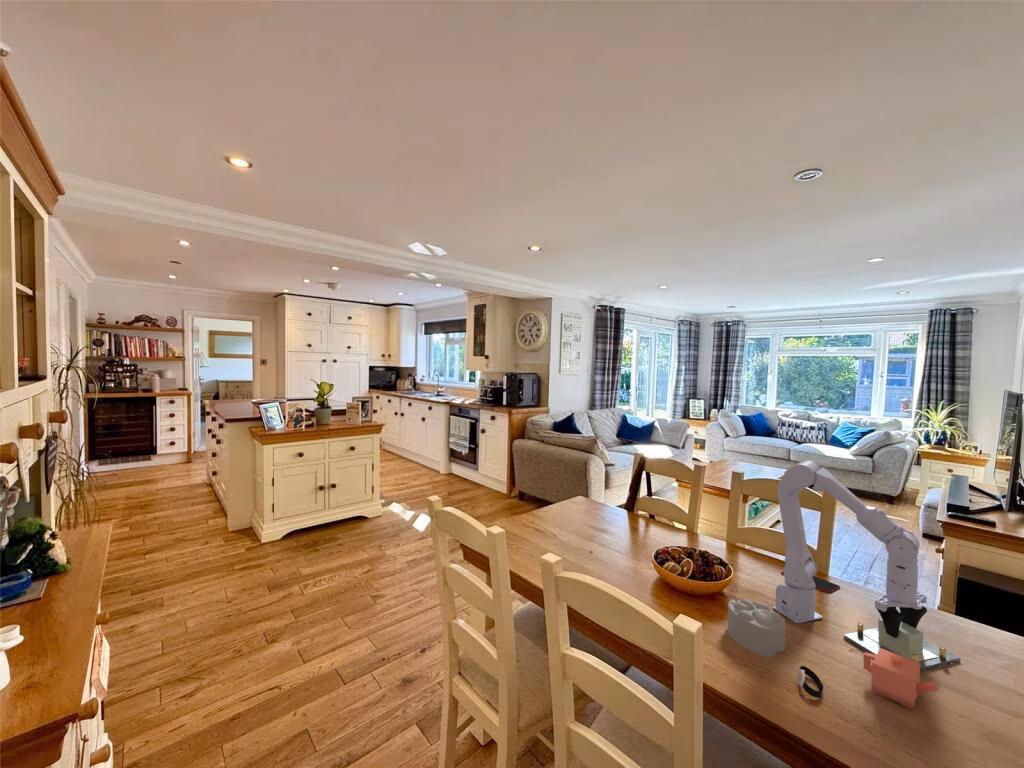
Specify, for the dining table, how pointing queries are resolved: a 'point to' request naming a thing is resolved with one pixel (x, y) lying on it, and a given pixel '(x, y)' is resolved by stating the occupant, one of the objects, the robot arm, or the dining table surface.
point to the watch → (801, 682)
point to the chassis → (927, 659)
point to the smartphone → (824, 585)
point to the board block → (903, 638)
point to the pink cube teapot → (896, 677)
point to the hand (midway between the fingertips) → (900, 633)
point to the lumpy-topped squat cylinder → (756, 627)
